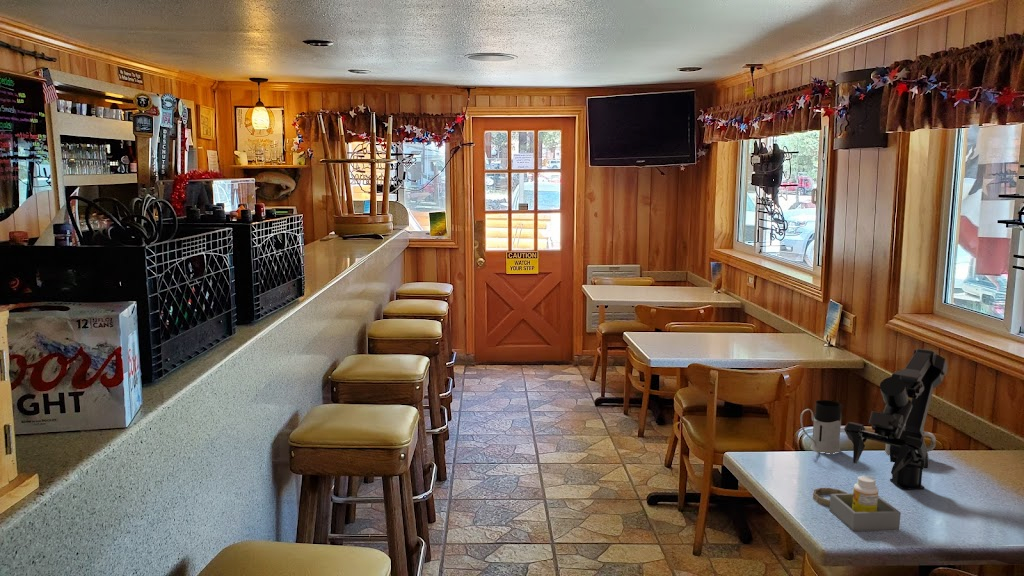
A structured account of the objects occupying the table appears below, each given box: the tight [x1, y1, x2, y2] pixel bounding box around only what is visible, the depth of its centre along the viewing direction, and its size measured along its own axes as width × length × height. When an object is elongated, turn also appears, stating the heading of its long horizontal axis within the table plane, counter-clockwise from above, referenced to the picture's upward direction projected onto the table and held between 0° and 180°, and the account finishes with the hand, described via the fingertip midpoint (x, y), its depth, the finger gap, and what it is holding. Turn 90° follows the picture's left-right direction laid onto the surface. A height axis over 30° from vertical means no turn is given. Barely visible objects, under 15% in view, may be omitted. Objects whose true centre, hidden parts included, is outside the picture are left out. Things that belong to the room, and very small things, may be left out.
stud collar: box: [812, 487, 848, 508], centre depth 199 cm, size 9×9×2 cm
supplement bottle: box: [852, 475, 879, 512], centre depth 187 cm, size 6×6×10 cm
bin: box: [829, 492, 902, 532], centre depth 187 cm, size 12×12×4 cm
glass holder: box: [799, 399, 843, 454], centre depth 236 cm, size 9×14×15 cm, turn 107°
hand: (872, 468), depth 188 cm, fingers open, 9 cm apart
